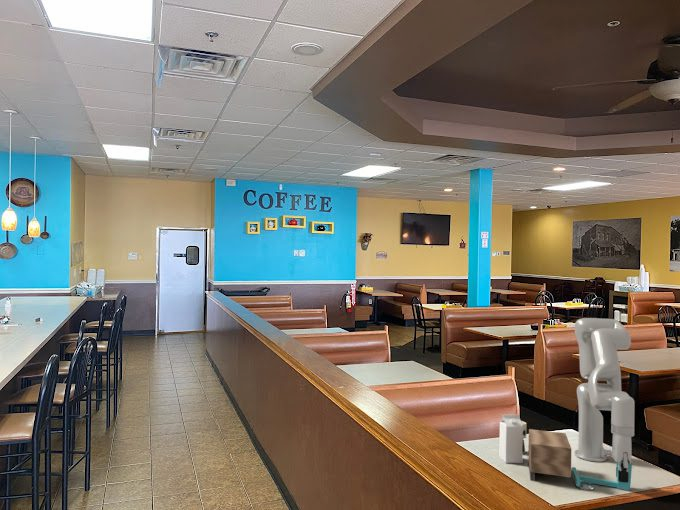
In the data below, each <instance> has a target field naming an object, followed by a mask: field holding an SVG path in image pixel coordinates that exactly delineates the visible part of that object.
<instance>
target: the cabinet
mask: <svg viewBox="0 0 680 510" xmlns="http://www.w3.org/2000/svg"><path fill="white" fill-rule="evenodd" d="M528 473H529V479H530V481H533V482H535V480H536V479H535V478H536V476H535V475H536V474H535V473H537V474H544V475H550V476H557V477H564V478H565V477H566V478H572V445H571V444H570V441H569V438H568V436H567V434H566V433H565V432H559V431H558V432H557V431H548V430H541V429H540V430H539V429H532V428H529V429H528Z"/></svg>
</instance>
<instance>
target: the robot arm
mask: <svg viewBox="0 0 680 510" xmlns="http://www.w3.org/2000/svg"><path fill="white" fill-rule="evenodd" d="M574 335H575V338H576V341H577V344H578V349H579V350H578V351H579V353H578V355H579V374H580V375H581V378H583V379H585V380H588V381H587V382H584V383H580V384H579V385H578V386H577V387H576V397H577V404H578V405H577V406H578V448H577V449H575V450H574V456H575V457H577V458H579V459H582V460H584V461H588V462H599V463H601V462H605V461H607V460H608V456H610V457H612V458H613V460H614V461H615V462H616V469H615V472H616V473H615V477H616V478H617V469H618V462H619V470H618V481H619V482H625V483H628V464H631V462H632V456H633V455H632V451H633V450H632V437H634V436H635V400H634V398H633V397H631V396H630V395H629V394H628V393H627V392H626V391H622V373H621V372H622V371H621V367H620V359H619V355H618V350H621V351H625V350H629V348H630V347H631V345H632V338H631V336H630V333H629V332H628V330H627V328H626V327H625V326H624V325H623V324H622V323H621V322H620V321H618V320H617V319H614V318H599V317H598V318H597V317H583V318H579V319H577V320H576V321H575V323H574ZM598 381H604V382H605V381H606V383H599V382H598ZM601 411H608V412H609V411H610V413H611V415H610V416H611V418H610V426H611V427H610V428H611V429H610V432H611V434H612V444H611V447H612V448H611V449H605V448H604V416H603V415H602V413H601ZM621 461H623V462H621ZM621 464H623V465H622V466H621Z"/></svg>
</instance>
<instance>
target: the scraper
mask: <svg viewBox="0 0 680 510" xmlns="http://www.w3.org/2000/svg"><path fill="white" fill-rule="evenodd" d="M621 462H623V461H621ZM622 465H623V464H621V466H622ZM632 469H633V462H632V461H631V464H628V483H625V482H619V481H618V470H619V462H618V469H617V477H616V480H615V481H613V480H608V479H603V478H599V477H598V478H597V477H591V476H586V475H582V474H579V473H578V469H577V468H576V467H575V466H571V475H572V476H573V479H574V482H575V485H576V487H577V486H580V481H583V482H589V483H592V484H596V485H602V486H607V487H612V488H617V489H618V490H625V491H631V486H632V485H631V483H632V482H631V481H632Z"/></svg>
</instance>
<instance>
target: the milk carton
mask: <svg viewBox="0 0 680 510" xmlns="http://www.w3.org/2000/svg"><path fill="white" fill-rule="evenodd" d="M520 416H521V415H520V414H511V413H510V414H507V413H506V414H502V418H500V419H501V420H500V421H499V439H498V443H499V445H498V446H499V447H498V453H499V454H498V455H499V456H498V457H499V458H500V459H501V460H502V461H503V462H504V463H505V464H523V453H522V450H523V440H524V438H523V425H522V423H521V421H522V420H521V418H520Z"/></svg>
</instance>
